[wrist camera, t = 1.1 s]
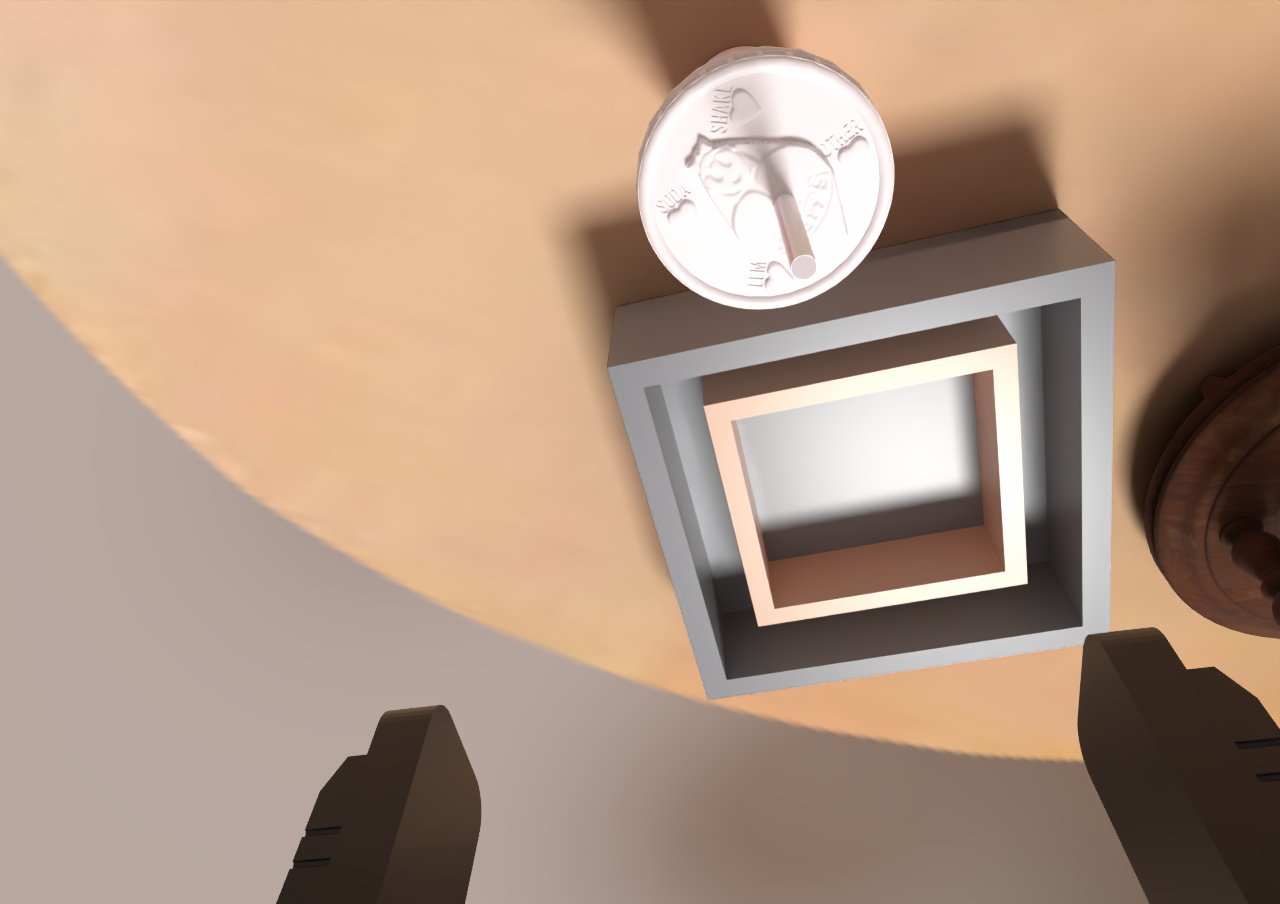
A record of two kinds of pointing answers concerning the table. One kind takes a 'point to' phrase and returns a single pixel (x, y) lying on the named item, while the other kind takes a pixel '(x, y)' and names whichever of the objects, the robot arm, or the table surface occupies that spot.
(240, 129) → the table surface
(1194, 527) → the scroll
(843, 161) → the smoothie
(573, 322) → the table surface
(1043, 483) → the socket box
